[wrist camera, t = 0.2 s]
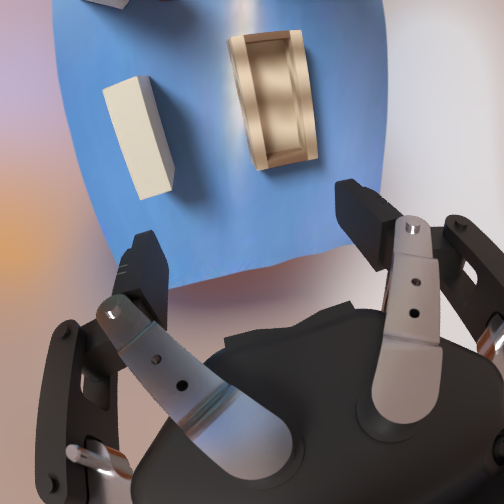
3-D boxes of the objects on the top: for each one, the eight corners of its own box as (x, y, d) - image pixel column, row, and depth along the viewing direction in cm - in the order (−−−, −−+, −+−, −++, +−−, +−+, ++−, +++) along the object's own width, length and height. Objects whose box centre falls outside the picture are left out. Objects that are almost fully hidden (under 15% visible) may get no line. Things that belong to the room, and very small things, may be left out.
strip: (120, 86, 28) (102, 89, 22) (148, 75, 29) (136, 76, 22) (149, 176, 37) (140, 200, 31) (175, 168, 37) (171, 190, 31)
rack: (226, 41, 28) (230, 37, 25) (290, 33, 28) (301, 29, 25) (251, 161, 39) (257, 170, 36) (307, 150, 39) (318, 158, 36)
